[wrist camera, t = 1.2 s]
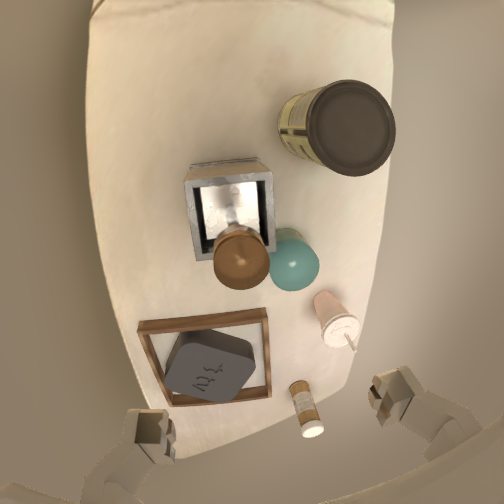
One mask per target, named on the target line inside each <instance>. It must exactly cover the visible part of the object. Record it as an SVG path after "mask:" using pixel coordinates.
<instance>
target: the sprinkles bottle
mask: <svg viewBox="0 0 504 504" xmlns="http://www.w3.org/2000/svg"><path fill="white" fill-rule="evenodd" d="M290 392H291V394H292V398H293V403H294V406H295V410H296V413H297V416H298V419H299V422H300V425H301V431H302V435H303V436H304V437H314V436H317V435H319V434H321V433H322V432H323V430H324V427H323V424H322V422H321V421H320V418H319V415H318V412H317V409H316V406H315V403H314V400H313V397H312V394H311V392H310V389H309V385H308V383H307V382H305V381H299V382H296V383H294V384H292V385H291V386H290Z"/></svg>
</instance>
